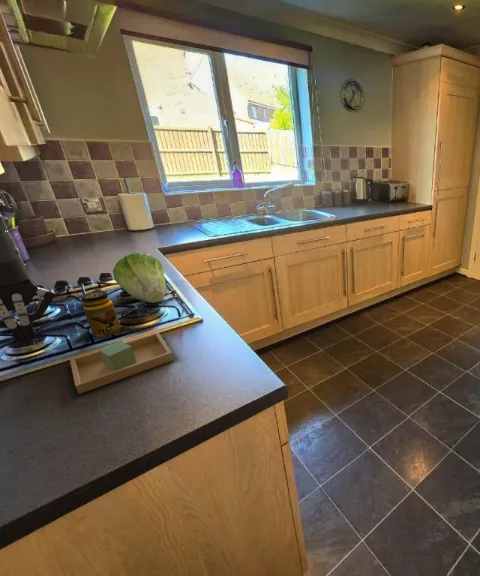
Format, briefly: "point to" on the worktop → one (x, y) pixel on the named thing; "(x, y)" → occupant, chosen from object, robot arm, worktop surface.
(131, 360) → the block
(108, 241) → the worktop surface
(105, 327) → the condiment
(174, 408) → the worktop surface
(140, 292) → the lettuce
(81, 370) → the tray
